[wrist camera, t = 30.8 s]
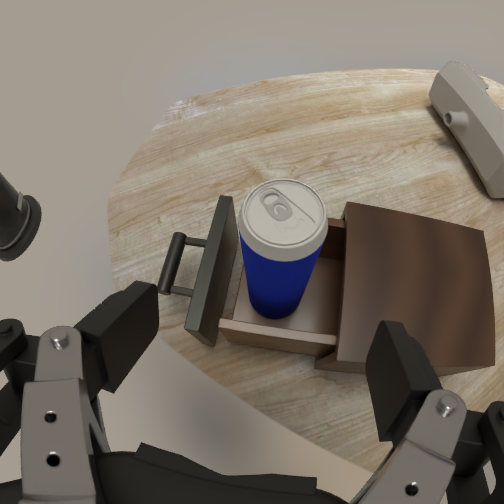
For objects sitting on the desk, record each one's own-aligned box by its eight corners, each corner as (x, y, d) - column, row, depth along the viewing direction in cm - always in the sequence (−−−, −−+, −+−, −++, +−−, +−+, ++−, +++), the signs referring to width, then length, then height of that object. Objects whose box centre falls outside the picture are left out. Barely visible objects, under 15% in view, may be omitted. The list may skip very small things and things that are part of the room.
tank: (405, 100, 47) (422, 50, 36) (460, 109, 47) (479, 67, 36) (466, 202, 36) (507, 150, 25) (518, 200, 36) (554, 159, 25)
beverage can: (311, 300, 29) (350, 221, 16) (268, 330, 28) (273, 272, 14) (280, 262, 31) (292, 161, 18) (239, 288, 30) (219, 201, 16)
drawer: (163, 334, 29) (134, 316, 22) (192, 230, 34) (176, 190, 27) (346, 365, 27) (373, 357, 20) (354, 254, 32) (376, 218, 25)
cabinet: (314, 369, 28) (336, 360, 19) (327, 249, 34) (347, 201, 25) (442, 376, 26) (495, 365, 18) (441, 267, 32) (483, 230, 23)
